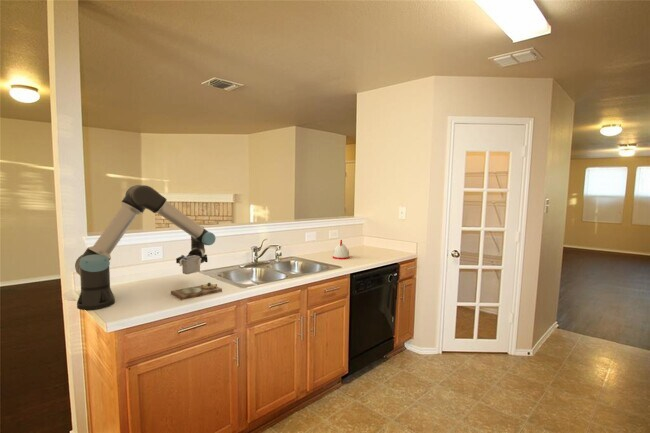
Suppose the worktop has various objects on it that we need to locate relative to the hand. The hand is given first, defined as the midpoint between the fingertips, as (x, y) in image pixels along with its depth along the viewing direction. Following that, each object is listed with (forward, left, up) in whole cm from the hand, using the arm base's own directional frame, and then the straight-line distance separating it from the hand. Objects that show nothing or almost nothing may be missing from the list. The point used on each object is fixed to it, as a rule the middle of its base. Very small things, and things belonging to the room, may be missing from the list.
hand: (189, 263), depth 180 cm
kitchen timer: (+105, +86, -18) cm, 137 cm away
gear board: (+3, +6, -17) cm, 19 cm away
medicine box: (0, +5, -6) cm, 8 cm away
